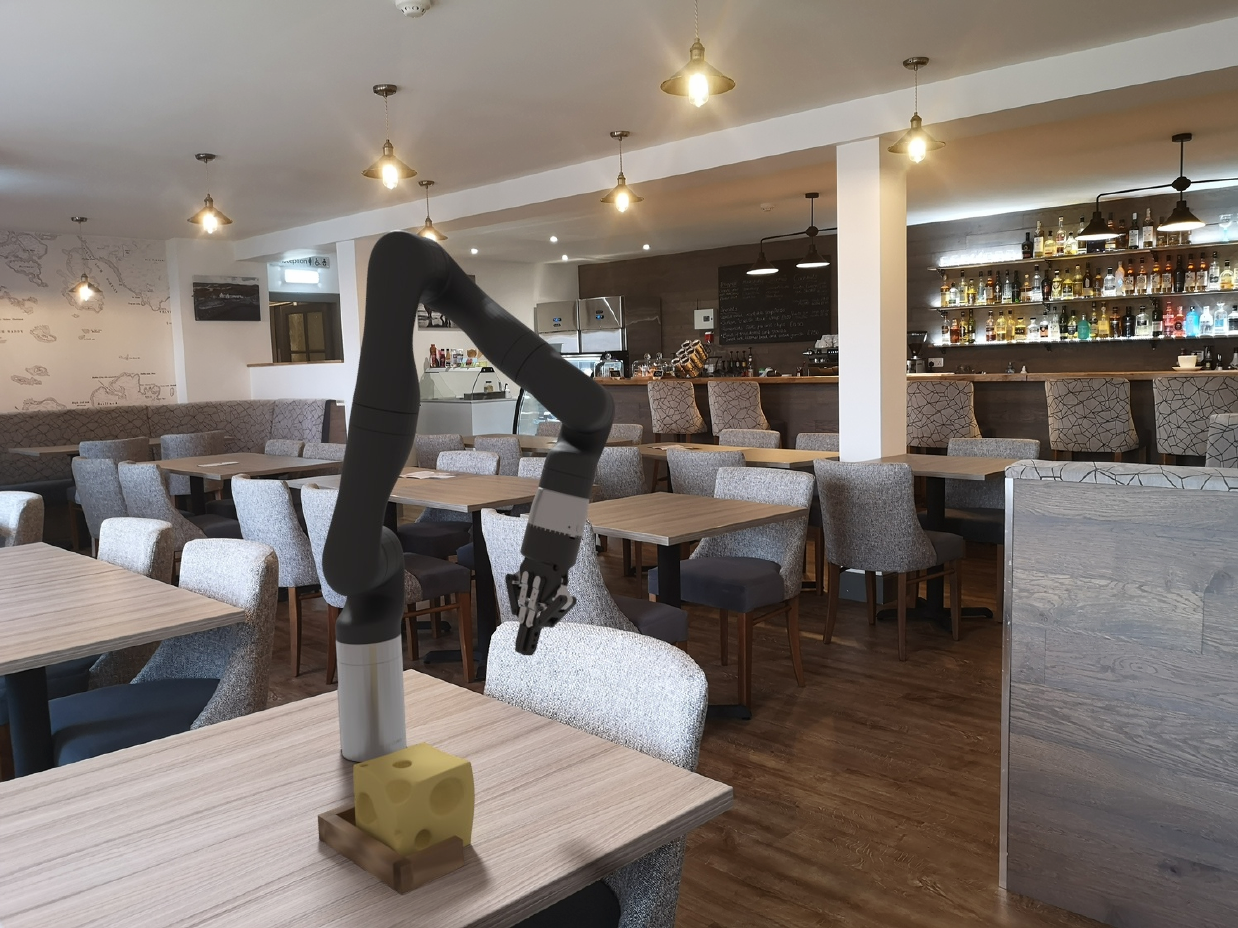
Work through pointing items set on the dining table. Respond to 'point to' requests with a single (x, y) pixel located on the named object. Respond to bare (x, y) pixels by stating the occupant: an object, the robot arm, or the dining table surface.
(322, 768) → the dining table surface
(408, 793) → the cheese
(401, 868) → the walnut cradle
